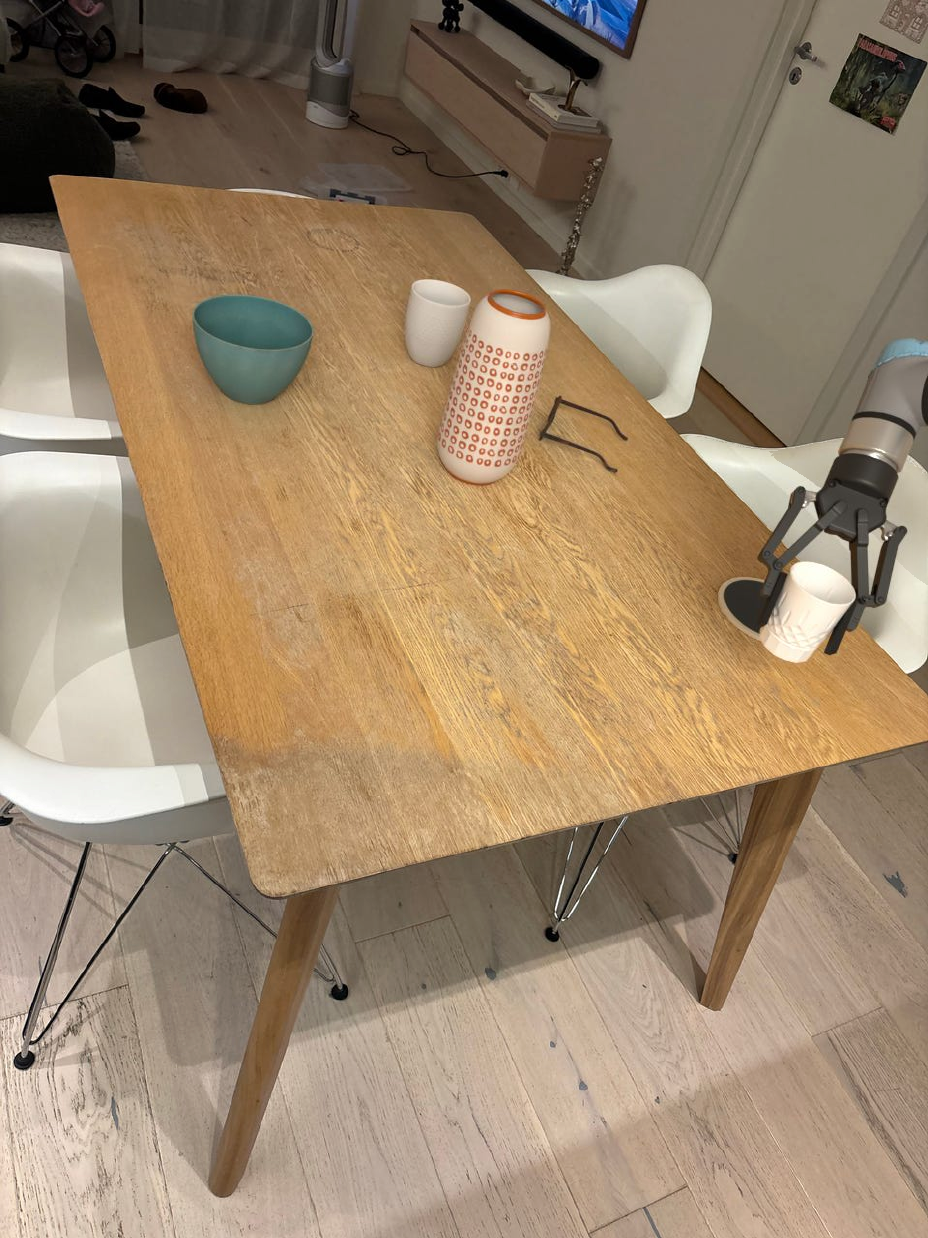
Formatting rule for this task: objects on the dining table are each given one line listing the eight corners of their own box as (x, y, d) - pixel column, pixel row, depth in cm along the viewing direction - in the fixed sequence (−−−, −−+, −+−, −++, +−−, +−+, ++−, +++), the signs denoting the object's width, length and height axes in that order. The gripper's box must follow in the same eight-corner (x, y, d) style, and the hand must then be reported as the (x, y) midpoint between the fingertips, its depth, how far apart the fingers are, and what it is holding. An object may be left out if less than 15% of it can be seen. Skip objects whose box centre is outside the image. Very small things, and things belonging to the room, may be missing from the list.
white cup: (827, 657, 113) (869, 596, 106) (788, 674, 108) (829, 611, 102) (780, 616, 117) (817, 555, 111) (741, 631, 113) (777, 568, 106)
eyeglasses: (551, 411, 168) (558, 387, 165) (627, 438, 167) (637, 414, 164) (534, 447, 157) (543, 421, 154) (617, 475, 156) (627, 450, 153)
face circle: (832, 626, 137) (834, 623, 136) (782, 661, 128) (784, 658, 127) (750, 568, 144) (752, 565, 143) (698, 598, 134) (699, 595, 134)
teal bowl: (310, 425, 145) (320, 354, 138) (190, 416, 140) (193, 341, 132) (299, 370, 158) (307, 302, 150) (188, 359, 152) (191, 287, 144)
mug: (384, 334, 176) (396, 267, 168) (436, 336, 181) (451, 271, 172) (409, 372, 167) (423, 304, 158) (464, 374, 171) (480, 307, 163)
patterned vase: (527, 476, 149) (580, 311, 131) (481, 504, 140) (531, 331, 122) (462, 438, 153) (505, 274, 135) (413, 463, 144) (453, 290, 126)
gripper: (938, 505, 112) (869, 676, 110) (777, 443, 115) (707, 609, 113) (966, 488, 105) (892, 671, 103) (793, 422, 107) (718, 599, 106)
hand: (795, 638), depth 108 cm, fingers closed on white cup, 8 cm apart
